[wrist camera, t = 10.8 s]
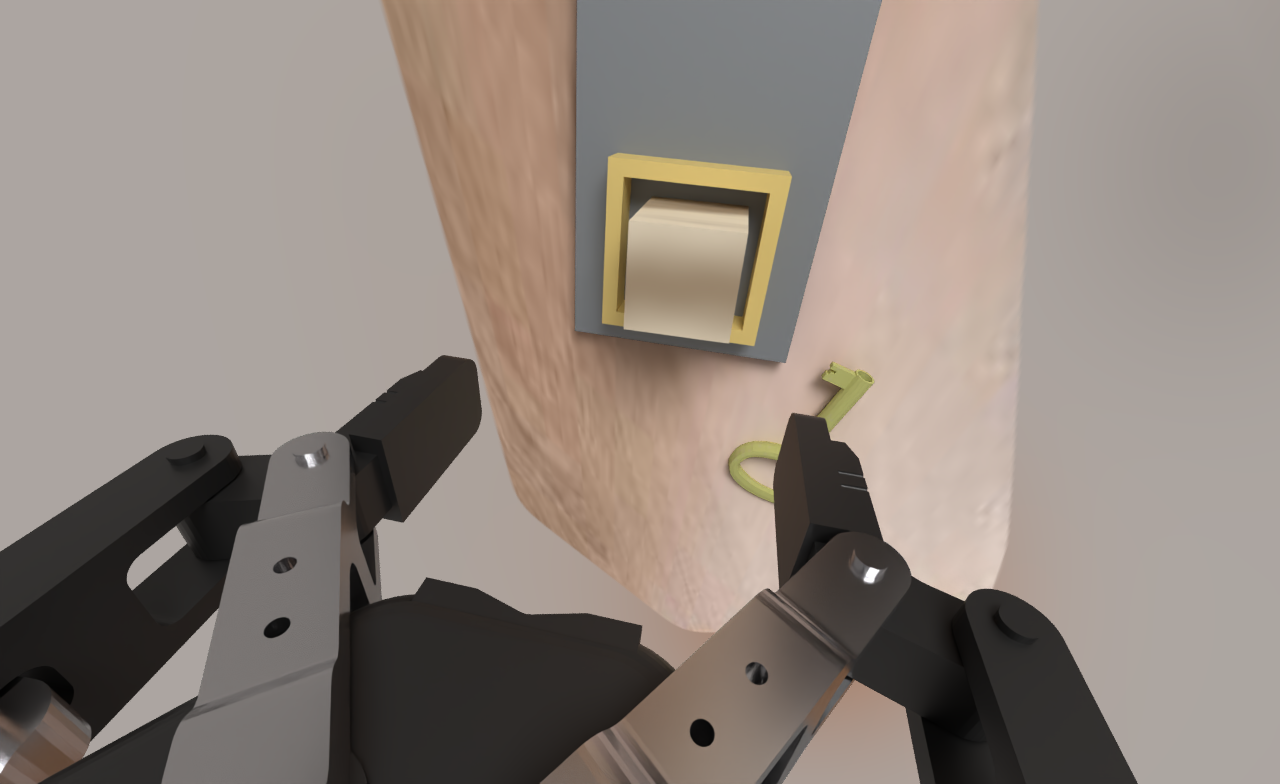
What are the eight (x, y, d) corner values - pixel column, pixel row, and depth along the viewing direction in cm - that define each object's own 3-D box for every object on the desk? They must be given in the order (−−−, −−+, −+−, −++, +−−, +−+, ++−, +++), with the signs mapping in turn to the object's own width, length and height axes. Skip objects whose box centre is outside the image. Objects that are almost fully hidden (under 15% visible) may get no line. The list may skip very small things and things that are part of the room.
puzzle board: (585, -174, 20) (561, -213, 17) (921, -166, 18) (948, -208, 16) (579, 324, 31) (565, 344, 29) (784, 355, 30) (787, 379, 27)
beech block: (652, 196, 26) (628, 220, 21) (748, 206, 25) (748, 233, 20) (645, 287, 28) (623, 329, 23) (732, 298, 28) (729, 343, 23)
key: (873, 357, 29) (880, 374, 28) (820, 505, 36) (823, 527, 34) (752, 340, 30) (752, 355, 28) (722, 488, 37) (720, 507, 35)
